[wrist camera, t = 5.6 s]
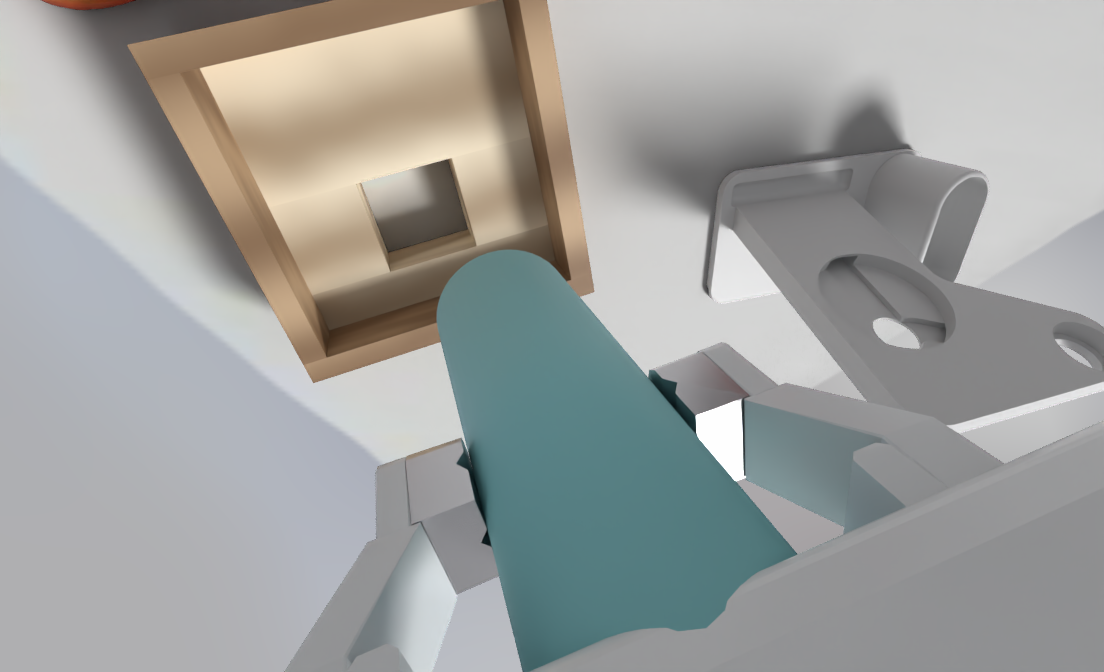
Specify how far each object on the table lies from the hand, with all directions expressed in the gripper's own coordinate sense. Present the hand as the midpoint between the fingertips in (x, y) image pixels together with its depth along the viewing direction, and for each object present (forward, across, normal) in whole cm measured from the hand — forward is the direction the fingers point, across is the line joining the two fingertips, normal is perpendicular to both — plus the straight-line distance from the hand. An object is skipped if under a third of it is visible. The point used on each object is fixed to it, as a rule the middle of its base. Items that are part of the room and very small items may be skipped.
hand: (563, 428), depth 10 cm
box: (+25, +1, 0) cm, 25 cm away
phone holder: (+25, -26, +12) cm, 38 cm away
